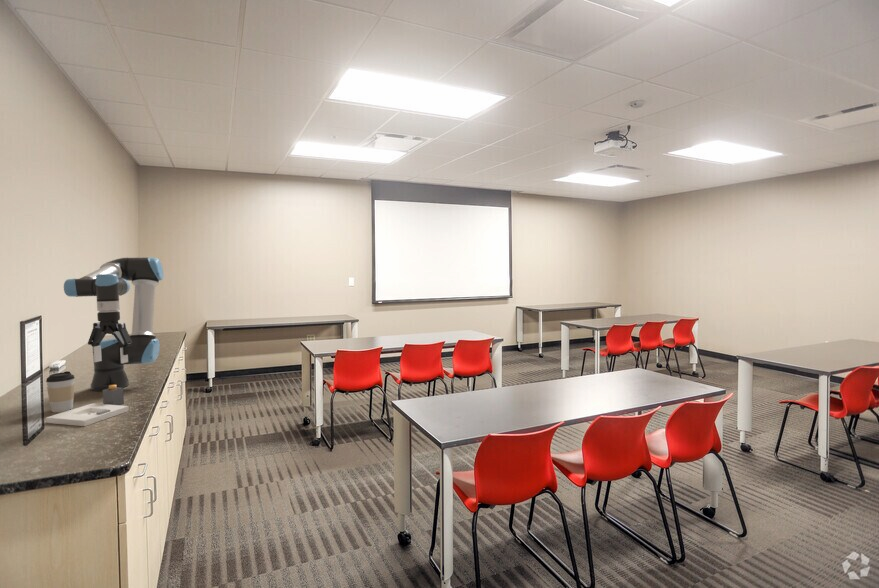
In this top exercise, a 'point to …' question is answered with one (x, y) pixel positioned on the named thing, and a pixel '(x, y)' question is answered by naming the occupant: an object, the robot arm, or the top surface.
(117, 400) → the plug
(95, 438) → the top surface
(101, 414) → the socket plate
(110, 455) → the top surface
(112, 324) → the robot arm
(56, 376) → the coffee cup
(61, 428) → the top surface
